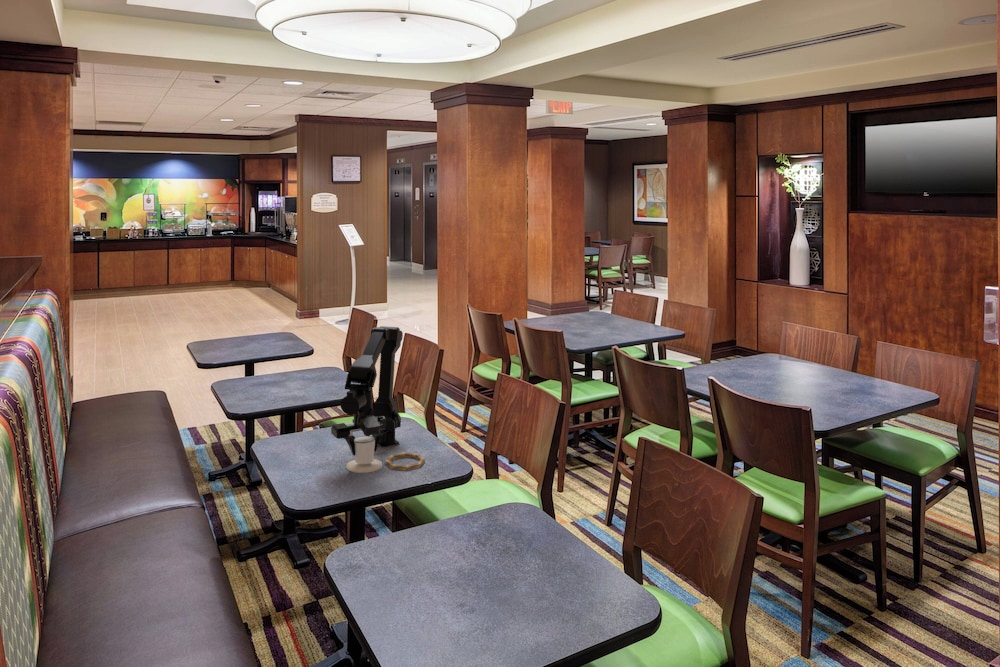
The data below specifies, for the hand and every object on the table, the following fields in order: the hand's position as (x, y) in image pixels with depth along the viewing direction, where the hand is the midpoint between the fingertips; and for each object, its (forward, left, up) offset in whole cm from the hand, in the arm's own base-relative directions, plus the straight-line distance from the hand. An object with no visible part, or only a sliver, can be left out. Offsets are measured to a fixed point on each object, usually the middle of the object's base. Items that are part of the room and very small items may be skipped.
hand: (364, 453), depth 221 cm
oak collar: (+4, +12, -4) cm, 13 cm away
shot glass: (0, 0, -3) cm, 3 cm away
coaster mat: (0, 0, -4) cm, 4 cm away
